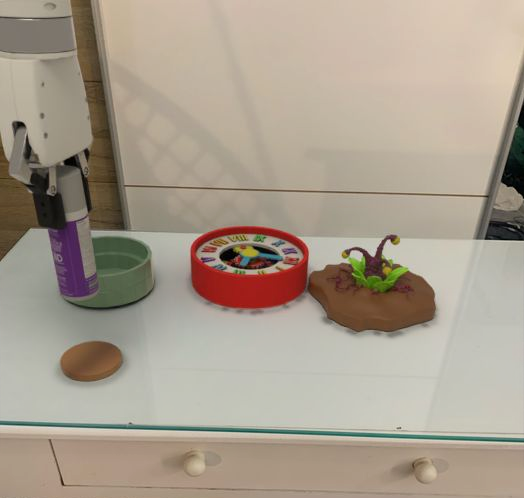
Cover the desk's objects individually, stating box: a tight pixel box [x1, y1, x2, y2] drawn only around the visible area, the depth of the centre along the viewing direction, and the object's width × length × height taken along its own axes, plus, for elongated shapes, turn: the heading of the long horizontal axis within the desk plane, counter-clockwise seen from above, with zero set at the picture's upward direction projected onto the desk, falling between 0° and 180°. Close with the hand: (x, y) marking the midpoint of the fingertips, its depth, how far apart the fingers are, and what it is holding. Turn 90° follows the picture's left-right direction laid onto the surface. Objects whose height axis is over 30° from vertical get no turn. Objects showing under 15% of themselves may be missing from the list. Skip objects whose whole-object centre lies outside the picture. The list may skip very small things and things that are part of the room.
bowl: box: [65, 235, 155, 308], centre depth 91 cm, size 15×15×6 cm
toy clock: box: [189, 225, 310, 310], centre depth 95 cm, size 20×6×20 cm
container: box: [37, 164, 99, 302], centre depth 65 cm, size 5×5×15 cm
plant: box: [307, 234, 437, 332], centre depth 90 cm, size 20×20×11 cm
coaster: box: [59, 340, 123, 382], centre depth 75 cm, size 8×8×1 cm
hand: (66, 217), depth 64 cm, fingers closed on container, 4 cm apart
